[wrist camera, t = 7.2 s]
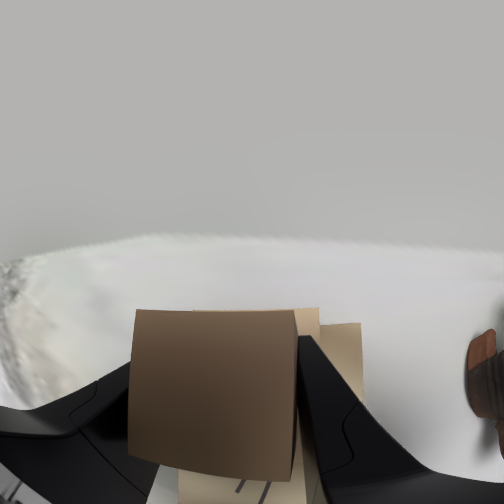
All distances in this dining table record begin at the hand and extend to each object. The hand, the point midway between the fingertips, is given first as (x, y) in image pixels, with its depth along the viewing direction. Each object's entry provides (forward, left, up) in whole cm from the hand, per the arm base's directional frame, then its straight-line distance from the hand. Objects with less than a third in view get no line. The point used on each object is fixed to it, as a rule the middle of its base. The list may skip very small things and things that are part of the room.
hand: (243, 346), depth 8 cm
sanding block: (-1, -1, -6) cm, 6 cm away
